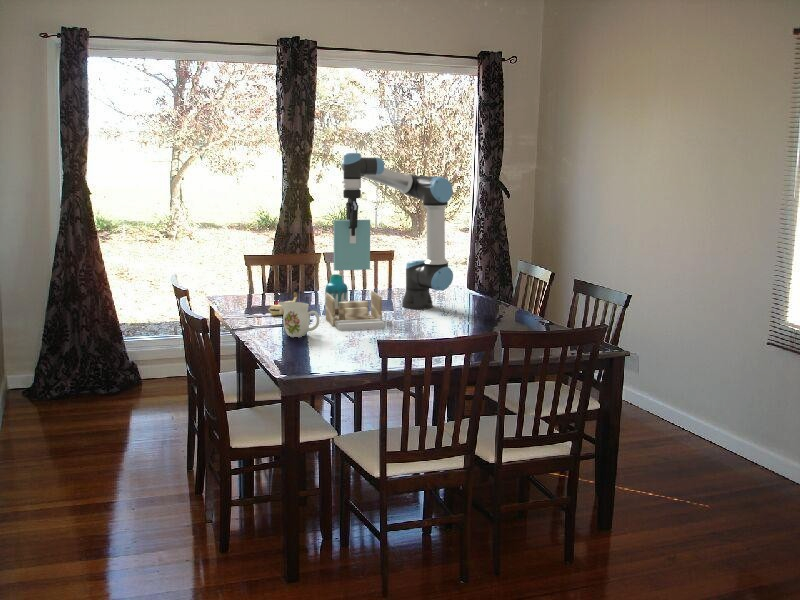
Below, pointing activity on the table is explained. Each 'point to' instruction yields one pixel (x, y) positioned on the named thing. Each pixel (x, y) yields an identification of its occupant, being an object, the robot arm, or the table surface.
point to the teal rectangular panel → (351, 246)
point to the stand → (359, 324)
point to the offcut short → (356, 313)
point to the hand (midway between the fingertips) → (352, 242)
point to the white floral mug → (297, 318)
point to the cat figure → (280, 307)
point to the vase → (337, 290)
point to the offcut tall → (351, 306)
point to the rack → (375, 314)
